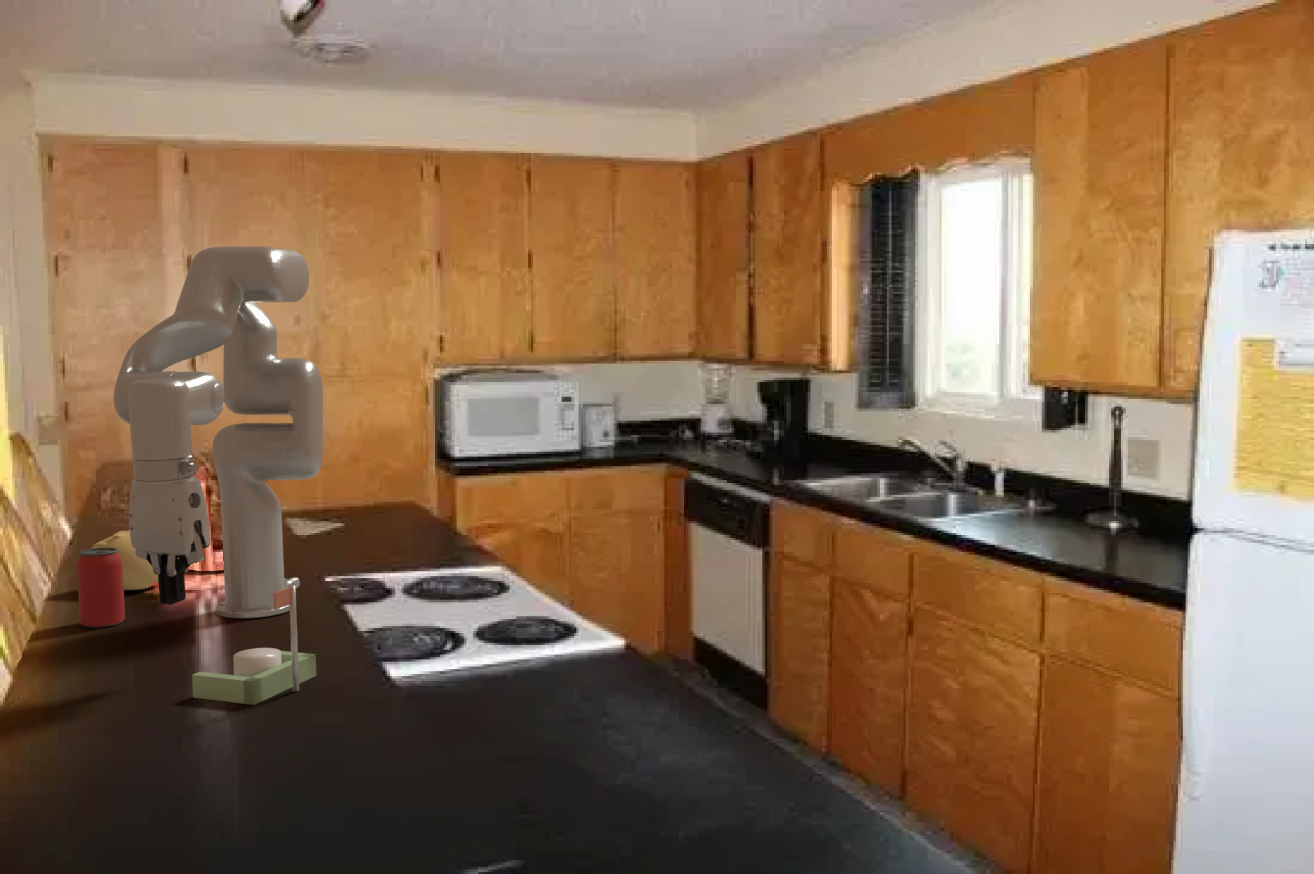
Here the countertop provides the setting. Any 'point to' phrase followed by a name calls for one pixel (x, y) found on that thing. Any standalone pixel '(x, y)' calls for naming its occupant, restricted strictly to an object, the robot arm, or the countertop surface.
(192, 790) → the countertop surface
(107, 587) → the beer can
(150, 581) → the sculpture
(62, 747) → the countertop surface
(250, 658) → the white domed cylinder
